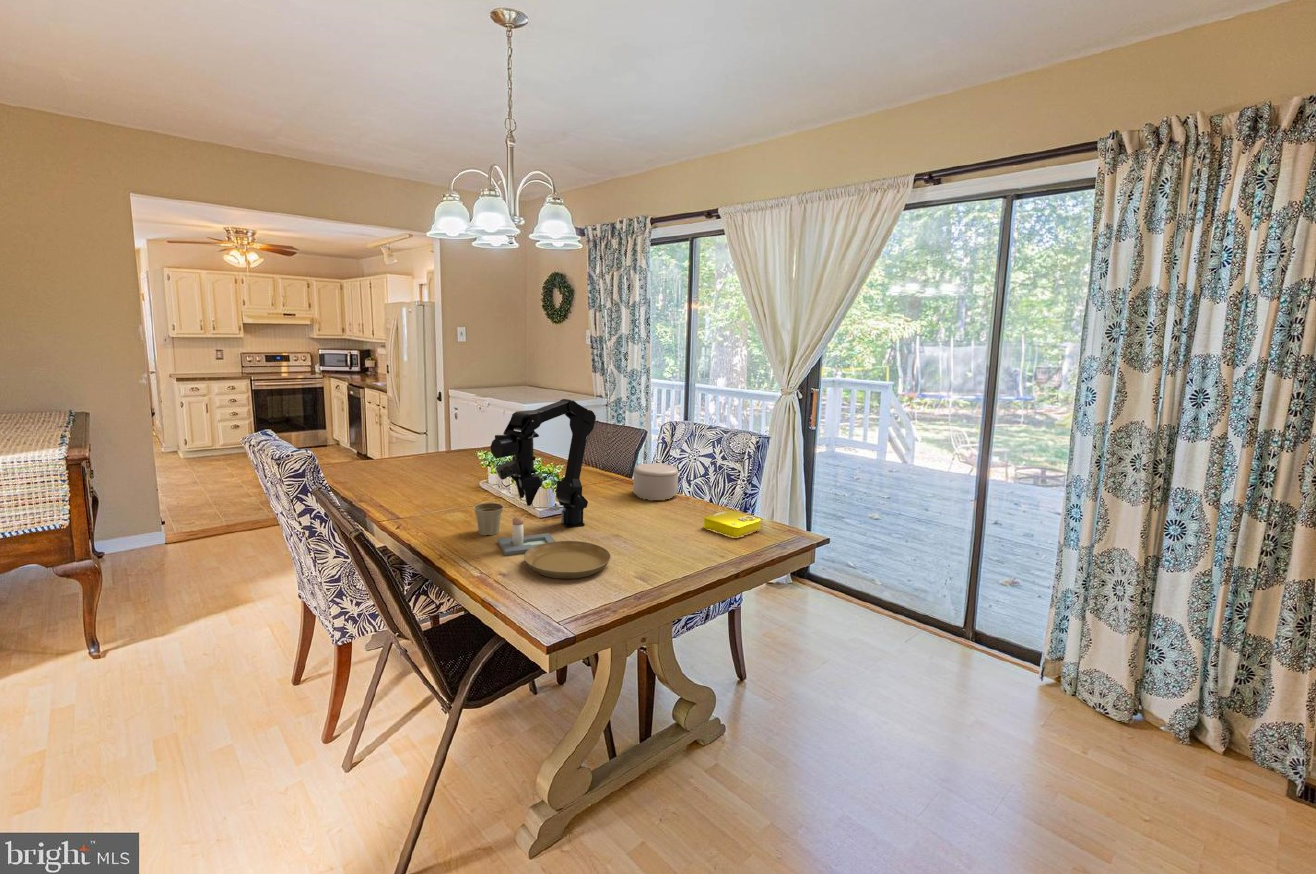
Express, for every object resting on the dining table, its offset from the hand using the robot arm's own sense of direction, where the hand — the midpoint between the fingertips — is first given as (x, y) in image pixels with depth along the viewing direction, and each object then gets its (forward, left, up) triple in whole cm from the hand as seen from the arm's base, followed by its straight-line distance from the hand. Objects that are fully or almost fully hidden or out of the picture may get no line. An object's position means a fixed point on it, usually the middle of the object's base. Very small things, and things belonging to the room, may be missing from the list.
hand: (525, 501), depth 193 cm
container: (-60, -34, -12) cm, 71 cm away
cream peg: (+4, +7, -12) cm, 14 cm away
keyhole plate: (+1, +7, -12) cm, 14 cm away
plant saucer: (-6, +26, -13) cm, 29 cm away
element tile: (-68, +13, -13) cm, 70 cm away
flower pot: (+10, -9, -12) cm, 18 cm away
